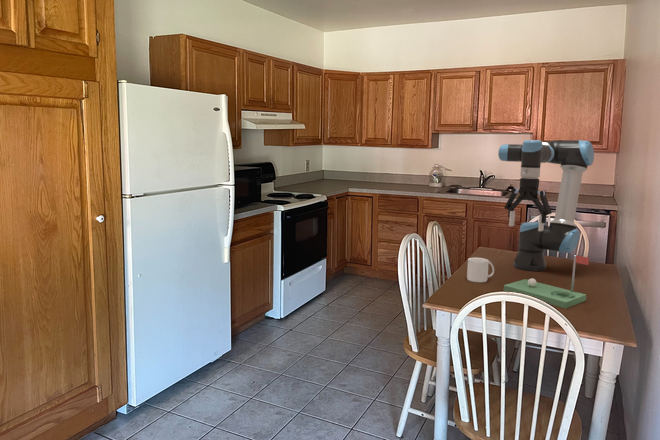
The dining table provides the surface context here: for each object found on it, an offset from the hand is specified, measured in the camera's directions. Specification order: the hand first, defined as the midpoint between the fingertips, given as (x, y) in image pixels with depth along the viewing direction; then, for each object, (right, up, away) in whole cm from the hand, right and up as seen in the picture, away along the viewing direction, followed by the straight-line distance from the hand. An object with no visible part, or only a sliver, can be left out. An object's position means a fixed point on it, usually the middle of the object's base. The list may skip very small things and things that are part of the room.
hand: (525, 228), depth 209 cm
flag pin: (+18, -29, -8) cm, 35 cm away
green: (+6, -28, -4) cm, 29 cm away
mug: (-14, -24, +18) cm, 33 cm away
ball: (+3, -23, 0) cm, 23 cm away
